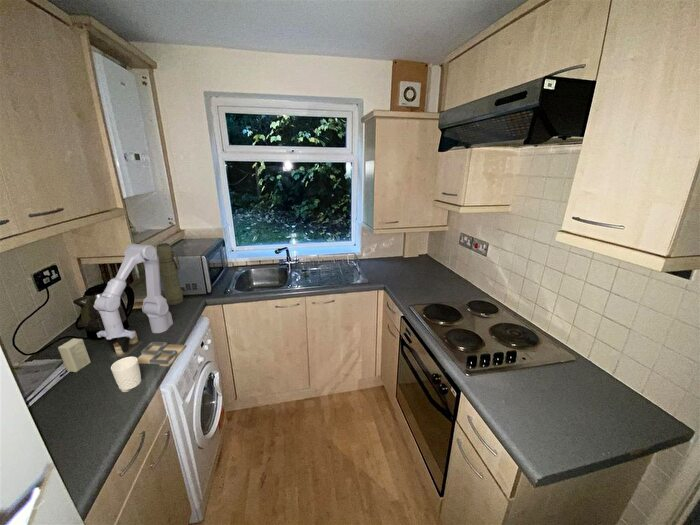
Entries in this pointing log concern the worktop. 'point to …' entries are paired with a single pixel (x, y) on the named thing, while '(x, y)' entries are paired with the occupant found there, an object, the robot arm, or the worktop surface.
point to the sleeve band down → (133, 340)
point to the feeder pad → (129, 350)
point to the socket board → (160, 353)
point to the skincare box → (74, 354)
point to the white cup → (126, 373)
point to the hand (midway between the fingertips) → (121, 351)
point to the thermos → (169, 274)
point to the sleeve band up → (118, 349)
